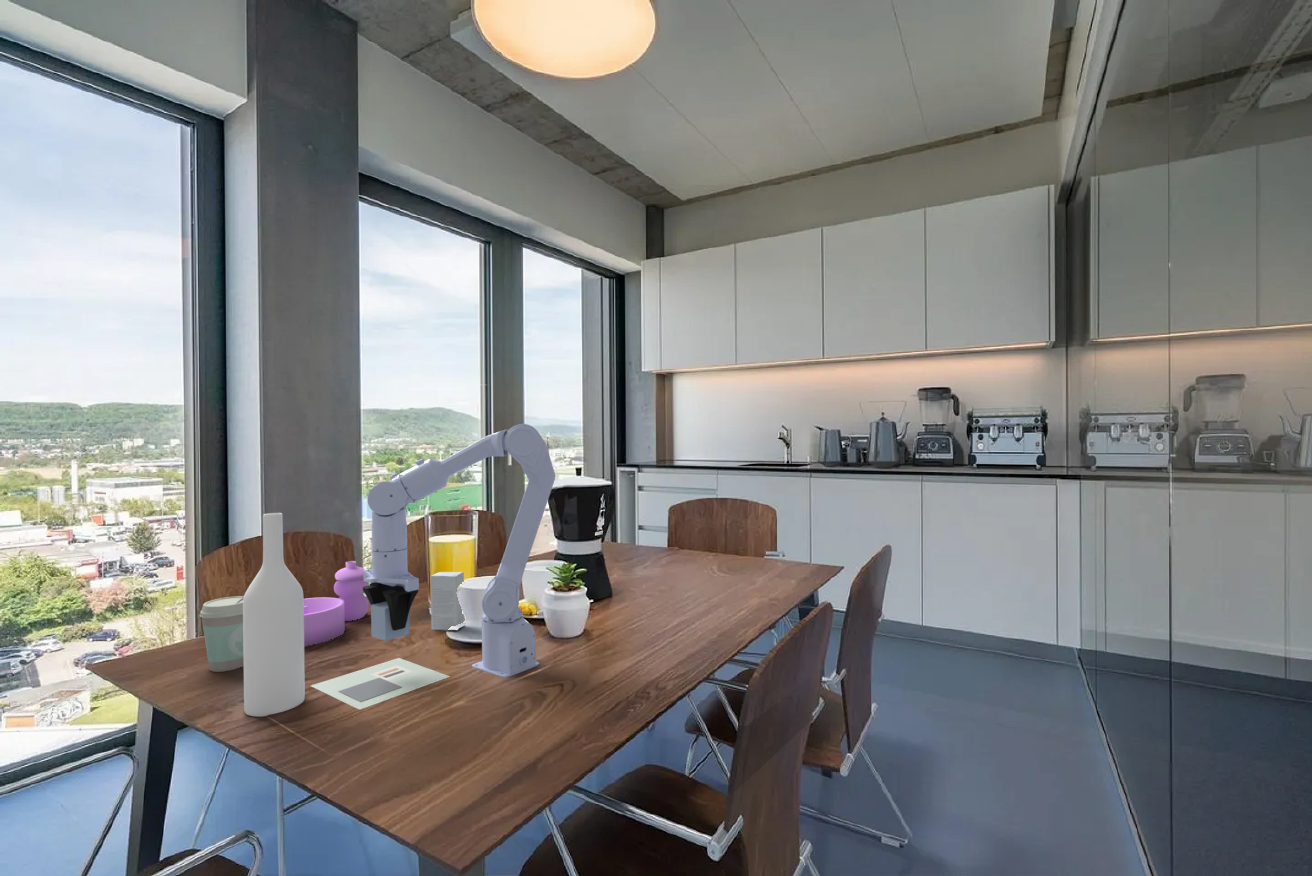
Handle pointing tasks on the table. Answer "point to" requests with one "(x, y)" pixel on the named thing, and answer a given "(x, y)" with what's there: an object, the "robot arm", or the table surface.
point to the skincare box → (445, 600)
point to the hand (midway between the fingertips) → (390, 626)
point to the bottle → (273, 631)
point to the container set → (336, 606)
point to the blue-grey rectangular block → (384, 623)
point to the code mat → (379, 682)
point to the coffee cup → (223, 633)
